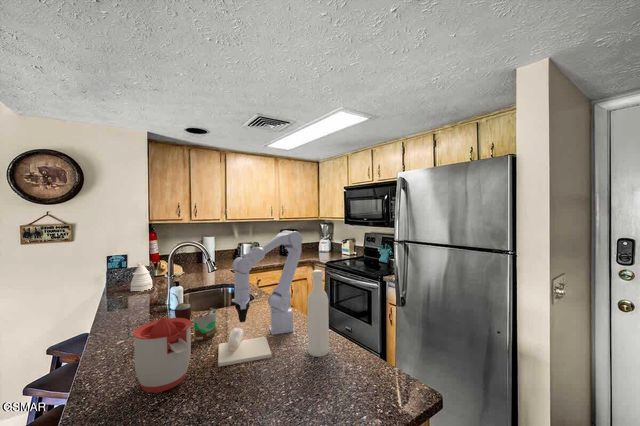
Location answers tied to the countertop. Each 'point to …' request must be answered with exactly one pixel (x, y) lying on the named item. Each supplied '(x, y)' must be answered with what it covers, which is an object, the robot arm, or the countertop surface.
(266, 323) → the countertop surface
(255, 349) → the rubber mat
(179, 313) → the mate gourd
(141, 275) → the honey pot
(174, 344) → the citrus juicer
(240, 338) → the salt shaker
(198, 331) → the food container
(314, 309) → the bottle
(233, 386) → the countertop surface
